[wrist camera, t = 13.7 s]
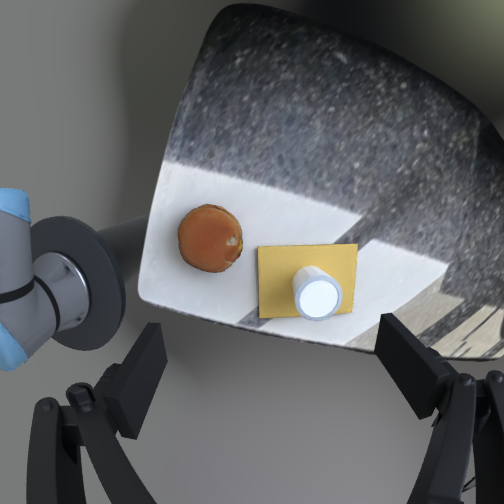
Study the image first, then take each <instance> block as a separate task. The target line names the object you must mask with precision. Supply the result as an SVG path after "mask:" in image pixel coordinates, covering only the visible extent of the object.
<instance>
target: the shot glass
mask: <svg viewBox="0 0 504 504" xmlns="http://www.w3.org/2000/svg"><path fill="white" fill-rule="evenodd" d="M292 285H293V292H294V298H295V304H296V309H297V310H298V312H299V313H300V315H301V316H303V317H304V318H306V319H308V320H312V321H320V320H324V319H327V318H329V317H330V316H332V315H333V314H335V313H336V311H337V310H338V309H339V307H340V305H341V302H342V299H343V295H342V288H341V287H340V285H339V283H338V282H337V281H336V280H335V279H333V278H332V277H331V276H329V275H328V274H327V273H325V272H324V271H322V270H321V269H319V268H318V267H316V266H306V267H303V268H301V269H300V270H298V271H297V273H296V274H295V275H294V277H293V282H292Z"/></svg>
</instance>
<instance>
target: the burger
mask: <svg viewBox="0 0 504 504" xmlns="http://www.w3.org/2000/svg"><path fill="white" fill-rule="evenodd" d="M178 242H179V243H178V245H179V250H180V254H181V256H182V258H183V259H184V261H185V262H186V263H188V264H189V265H191V266H193V267H195V268H197V269H200V270H202V271H206V272H213V273H218V272H223V271H225V269H227V268H229V267H230V266H231V265H232V263H233V262H235V261H236V259H237V258H239V257H240V255H241V251H242V244H243V241H242V230H241V227H240V225H239V223H238V221H237V220H236V219H235V217H234V216H233V215H232V214H231V213H229V212H228V211H227V210H226V209H224V208H223V207H220V206H216V205H209V204H206V205H202V206H200V207H198V208H196V209H193V210H191V211H190V212H189V213H188V214H187V215H186V217H185V218H184V219H183V220H182V222H181V224H180V226H179V228H178Z"/></svg>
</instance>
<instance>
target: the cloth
mask: <svg viewBox="0 0 504 504" xmlns="http://www.w3.org/2000/svg"><path fill="white" fill-rule="evenodd" d="M357 247H358V244H331V245H295V246H261V247H258V273H259V316H260V318H278V317H297V316H301V315H300V313H299V312H298V310H297V309H296V304H295V298H294V292H293V285H292V282H293V277H294V275H295V274H296V273H297V271H298V270H300V269H301V268H303V267H306V266H316V267H318V268H319V269H321V270H322V271H324V272H325V273H327V274H328V275H329V276H331V277H332V278H333V279H335V280H336V281H337V282H338V283H339V285H340V287H341V288H342V295H343V299H342V302H341V305H340V307H339V309H338V310H337V311H336V313H335V314H339V313H351V312H352V308H353V298H354V288H355V277H356V264H357Z"/></svg>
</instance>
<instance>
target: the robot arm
mask: <svg viewBox="0 0 504 504" xmlns="http://www.w3.org/2000/svg"><path fill="white" fill-rule="evenodd" d="M30 223H31V219H30V209H29V197H28V195H27V193H26V192H24V191H23V190H20V189H10V188H0V369H1V370H4V371H13V370H15V369H16V368H18V367H19V366H20V365H21V364H23V363H25V362H26V361H27V360H28V359H29V358H30V357H31V356H32V355H33V354H34V353H35V352H36V351H37V350H38V349H39V348H40V347H41V346H42V345H43V344H44V343H45V342H46V341H47V340H48V339H50V338H51V337H52V336H53V335H54V334H55V333H56V332H59V331H63V330H67V329H70V328H74V327H76V326H78V325H80V324H81V323H82V322H83V321H84V320H85V319H86V318H87V317H88V315H89V313H90V310H91V306H92V294H91V289H90V285H89V282H88V280H87V277H86V275H85V273H84V272H83V270H82V268H81V267H80V266H79V264H78V263H77V262H76V261H75V260H74V259H73V258H71V257H70V256H69V255H67V254H65V253H63V252H60V251H50V252H47V253H45V254H43V255H41V256H40V257H38V258H37V259H36V260H35V262H34V263H33V264H32V252H31V232H30ZM374 352H375V354H376V355H377V357H378V358H379V360H380V361H381V362H382V364H383V365H384V367H385V368H386V370H387V371H388V373H389V374H390V376H391V377H392V379H393V380H394V382H395V383H396V385H397V386H398V388H399V389H400V391H401V392H402V394H403V395H404V397H405V398H406V400H407V401H408V403H409V404H410V406H411V408H412V409H413V411H414V412H415V414H416V415H417V417H418V418H419V420H421V419H423V418H427V417H429V416H431V415H432V414H433V412H434V409H435V407H436V408H437V409H438V411H439V413H438V415H437V417H436V419H435V420H434V422H433V424H432V427H433V426H434V428H433V432H432V436H431V439H430V443H429V446H428V449H427V453H426V455H425V458H424V461H423V464H422V467H421V470H420V472H419V475H418V478H417V480H416V483H415V485H414V488H413V490H412V493H411V495H410V497H409V500H408V501H407V504H464V502H462V501H460V497H461V493H462V490H463V486H464V482H465V477H466V473H467V468H468V463H469V458H470V452H471V445H472V443H473V453H474V463H475V480H476V504H504V374H503V373H502V372H499V371H495V370H493V371H490V372H488V374H487V376H486V378H485V379H482V380H475V378H474V377H472V376H471V375H469V374H466V373H461V374H459V373H458V372H457V371H456V370H455V369H454V368H453V367H452V366H451V365H450V364H449V363H448V362H447V361H446V360H445V359H444V358H443V357H442V356H441V355H440V354H439V353H438V352H437V351H436V350H434V349H432V348H430V347H428V348H426V347H425V346H424V345H423V344H422V343H421V342H420V341H419V340H418V339H417V338H416V337H415V336H414V335H413V334H412V333H411V332H410V331H409V330H408V329H407V328H406V327H405V326H404V325H403V324H402V323H401V322H400V321H399V320H398V319H397V318H396V317H395V316H394V315H393V314H392V313H387V314H381V318H380V324H379V329H378V334H377V339H376V344H375V349H374ZM167 362H168V360H167V356H166V351H165V346H164V340H163V335H162V331H161V324H160V323H148V324H147V325H146V327H145V328H144V330H143V331H142V333H141V334H140V336H139V337H138V339H137V341H136V342H135V344H134V345H133V347H132V348H131V350H130V351H129V353H128V354H127V356H126V358H125V359H124V361H123V362H122V364H115V363H114V364H112V365H111V366H110V367H109V368H107V369H106V371H105V372H104V374H103V376H102V377H101V378H100V381H98V383H97V384H96V386H95V387H94V389H93V388H92V386H91V385H90V384H88V383H82V382H81V383H76V384H73V385H71V386H70V387H69V388H68V389H67V391H66V397H67V399H68V401H69V403H70V405H71V406H60V405H59V403H58V401H56V399H54V398H51V397H47V398H43V399H41V400H39V401H38V402H37V403H36V405H35V409H34V414H33V420H32V427H31V434H30V442H29V451H28V463H27V485H26V487H27V488H26V492H27V493H26V500H27V504H86V498H85V491H84V484H83V475H82V465H81V452H80V446H85V447H86V449H87V452H88V454H89V457H90V459H91V462H92V464H93V466H94V469H95V471H96V473H97V475H98V477H99V480H100V482H101V483H102V486H103V488H104V490H105V492H106V494H107V496H108V498H109V499H110V501H111V503H112V504H157V503H156V502H155V500H154V499H153V497H152V496H151V495H150V493H149V492H148V491H147V489H146V487H145V486H144V484H143V483H142V481H141V480H140V478H139V476H138V475H137V473H136V472H135V470H134V468H133V467H132V465H131V463H130V462H129V460H128V458H127V456H126V455H125V453H124V451H123V449H122V447H121V446H120V444H119V442H118V440H117V438H116V436H115V435H116V432H117V430H118V431H119V432H120V434H121V436H122V437H125V438H130V439H135V440H137V437H138V435H139V432H140V429H141V427H142V424H143V421H144V419H145V416H146V414H147V411H148V409H149V406H150V404H151V401H152V399H153V396H154V394H155V391H156V388H157V386H158V384H159V381H160V379H161V376H162V374H163V371H164V369H165V366H166V364H167Z"/></svg>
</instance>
